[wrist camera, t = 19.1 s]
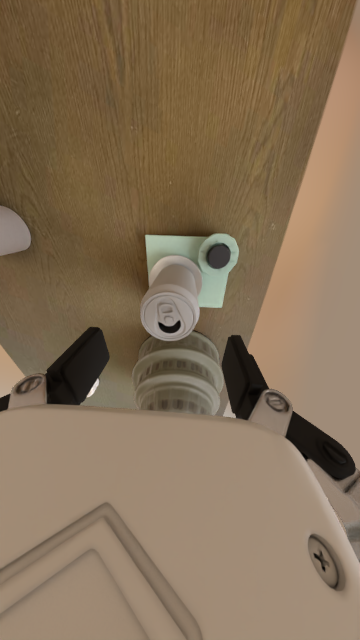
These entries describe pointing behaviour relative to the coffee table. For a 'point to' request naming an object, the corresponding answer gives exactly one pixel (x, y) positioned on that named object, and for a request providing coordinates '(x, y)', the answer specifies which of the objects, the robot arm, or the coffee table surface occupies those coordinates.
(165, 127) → the coffee table surface
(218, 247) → the button
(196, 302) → the beverage can
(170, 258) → the plate
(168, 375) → the dome
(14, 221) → the coffee cup
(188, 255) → the scale
